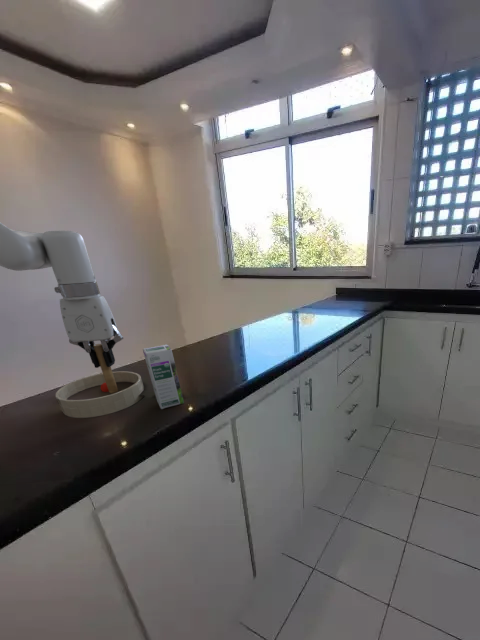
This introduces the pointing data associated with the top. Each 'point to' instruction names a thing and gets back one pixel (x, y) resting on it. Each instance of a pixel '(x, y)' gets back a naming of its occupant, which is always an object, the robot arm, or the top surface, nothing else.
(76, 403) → the ring
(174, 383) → the syrup box
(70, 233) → the robot arm
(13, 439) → the top surface
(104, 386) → the ball
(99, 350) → the stick
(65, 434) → the top surface
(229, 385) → the top surface
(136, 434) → the top surface
